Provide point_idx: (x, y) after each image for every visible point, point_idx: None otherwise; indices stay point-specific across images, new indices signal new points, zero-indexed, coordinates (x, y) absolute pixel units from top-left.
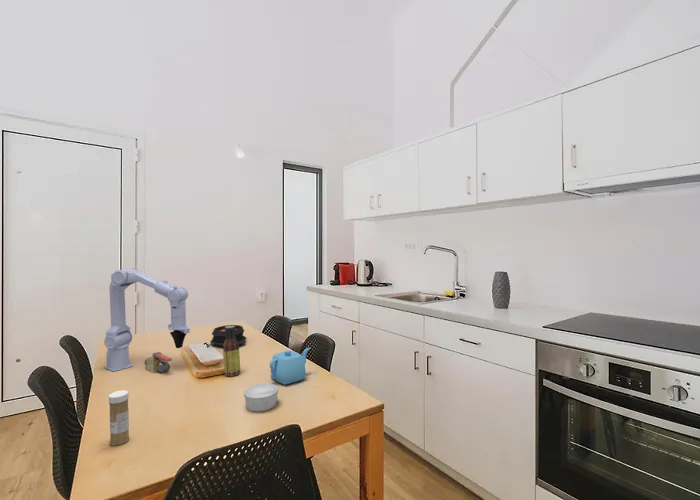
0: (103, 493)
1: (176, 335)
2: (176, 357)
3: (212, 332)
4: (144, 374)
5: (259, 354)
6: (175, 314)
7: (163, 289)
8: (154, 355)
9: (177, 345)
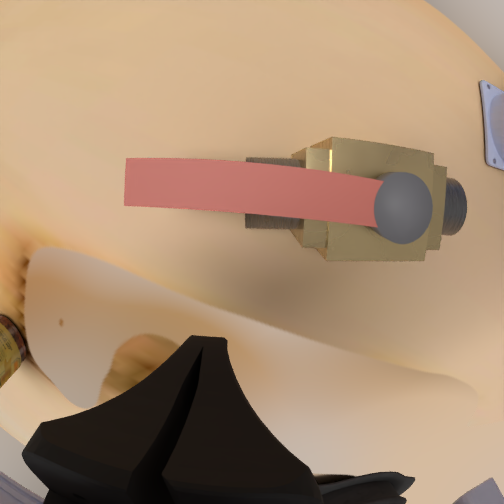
0: None
1: (51, 428)
2: (418, 352)
3: (399, 500)
4: (333, 106)
5: None
6: None
7: None
8: (388, 175)
9: (177, 353)
